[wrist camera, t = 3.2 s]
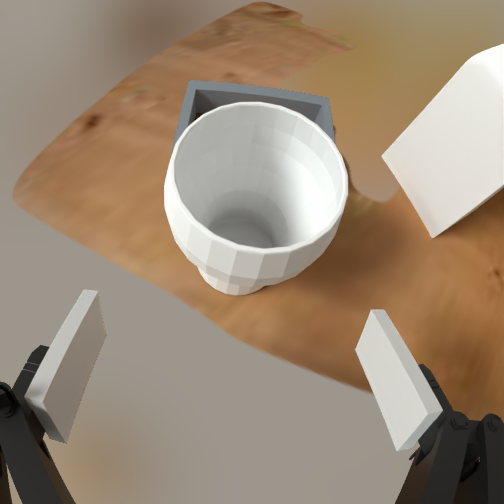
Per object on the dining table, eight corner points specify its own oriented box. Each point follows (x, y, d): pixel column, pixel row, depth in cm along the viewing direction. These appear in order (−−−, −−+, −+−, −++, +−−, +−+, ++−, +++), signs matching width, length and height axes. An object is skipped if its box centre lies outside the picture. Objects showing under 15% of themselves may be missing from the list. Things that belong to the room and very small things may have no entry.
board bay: (319, 119, 37) (328, 97, 33) (325, 190, 34) (338, 171, 30) (189, 103, 35) (189, 80, 32) (174, 175, 32) (171, 153, 28)
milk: (381, 156, 37) (499, -3, 12) (431, 139, 40) (533, 18, 15) (432, 238, 34) (600, 116, 10) (476, 209, 37) (605, 109, 12)
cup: (158, 272, 29) (116, 194, 15) (218, 185, 32) (229, 73, 18) (258, 333, 28) (308, 309, 14) (310, 238, 32) (380, 152, 18)
